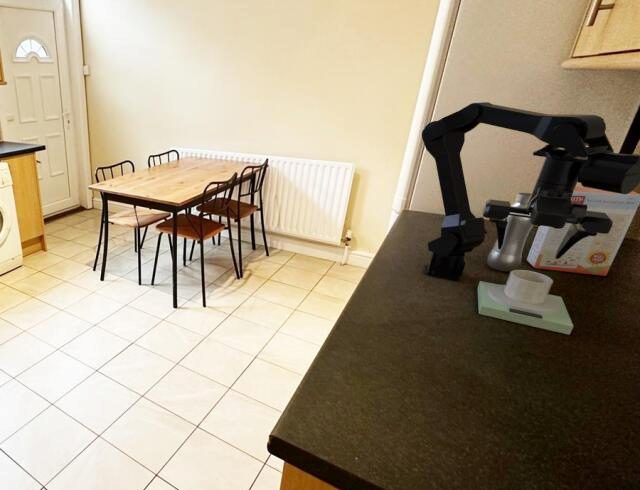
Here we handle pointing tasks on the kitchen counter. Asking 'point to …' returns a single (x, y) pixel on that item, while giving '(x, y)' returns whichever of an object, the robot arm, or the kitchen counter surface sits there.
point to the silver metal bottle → (512, 239)
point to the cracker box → (591, 250)
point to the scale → (524, 309)
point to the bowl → (527, 286)
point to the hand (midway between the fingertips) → (527, 253)
